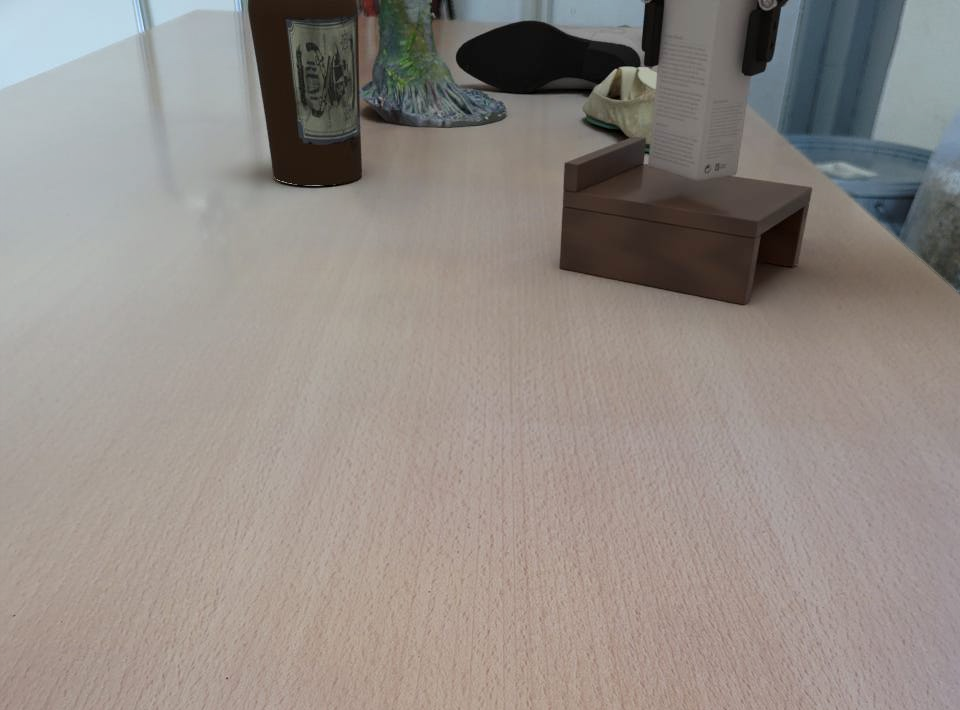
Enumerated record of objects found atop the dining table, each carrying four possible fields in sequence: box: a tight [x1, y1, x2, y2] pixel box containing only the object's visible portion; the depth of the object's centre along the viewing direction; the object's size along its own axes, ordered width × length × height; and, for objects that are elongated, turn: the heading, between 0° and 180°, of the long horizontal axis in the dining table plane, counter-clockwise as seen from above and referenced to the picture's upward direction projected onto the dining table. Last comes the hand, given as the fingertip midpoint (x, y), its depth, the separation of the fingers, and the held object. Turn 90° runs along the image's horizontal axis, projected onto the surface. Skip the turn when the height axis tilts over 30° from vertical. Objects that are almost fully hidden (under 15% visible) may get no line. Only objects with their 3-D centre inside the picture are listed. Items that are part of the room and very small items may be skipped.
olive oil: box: [247, 0, 363, 186], centre depth 99 cm, size 11×11×25 cm
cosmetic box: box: [647, 0, 758, 181], centre depth 74 cm, size 6×4×12 cm
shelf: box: [559, 136, 813, 305], centre depth 80 cm, size 16×12×8 cm
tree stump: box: [359, 0, 507, 128], centre depth 132 cm, size 18×20×18 cm
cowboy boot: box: [455, 19, 654, 95], centre depth 154 cm, size 10×28×25 cm
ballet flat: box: [581, 67, 657, 153], centre depth 123 cm, size 8×25×8 cm, turn 15°
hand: (704, 66), depth 74 cm, fingers closed on cosmetic box, 7 cm apart
